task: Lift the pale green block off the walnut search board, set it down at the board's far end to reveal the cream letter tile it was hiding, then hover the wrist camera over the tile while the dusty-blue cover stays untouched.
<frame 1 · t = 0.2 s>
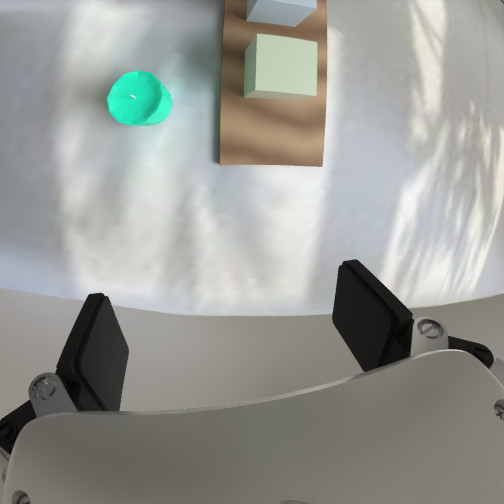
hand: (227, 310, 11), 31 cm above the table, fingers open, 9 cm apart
blue cover: (271, 4, 27), point 1 cm above the table, touching search board
pale green block: (269, 75, 32), point 1 cm above the table, touching search board
search board: (275, 64, 32), on the table
candle: (151, 104, 32), on the table
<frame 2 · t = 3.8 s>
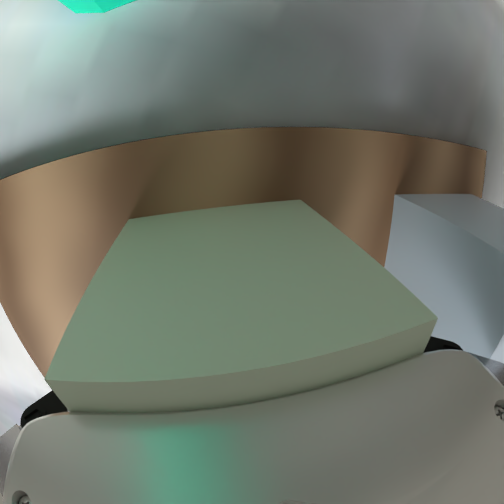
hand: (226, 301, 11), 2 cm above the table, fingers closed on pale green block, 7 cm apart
blue cover: (429, 250, 14), point 1 cm above the table, touching search board
pale green block: (223, 283, 12), point 1 cm above the table, touching gripper, search board
search board: (262, 284, 14), on the table
when the fingers open (4 cm above the table, at t = 10.5 s): pale green block drops 1 cm, resting on search board.
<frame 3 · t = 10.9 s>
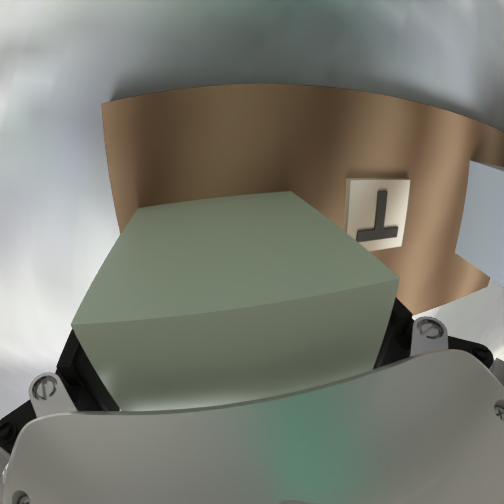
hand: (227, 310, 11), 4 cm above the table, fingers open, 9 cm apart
blue cover: (485, 207, 16), point 1 cm above the table, touching search board
pale green block: (221, 267, 14), point 1 cm above the table, touching search board
search board: (390, 222, 16), on the table
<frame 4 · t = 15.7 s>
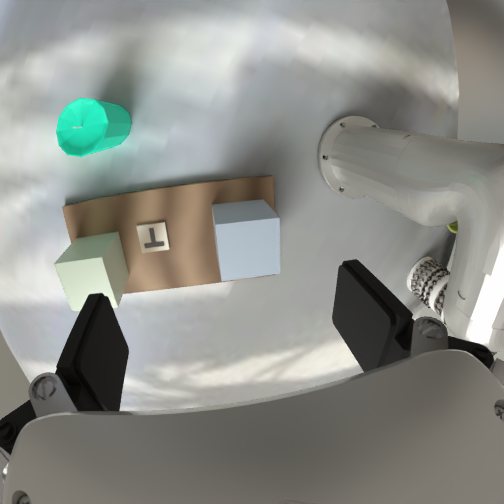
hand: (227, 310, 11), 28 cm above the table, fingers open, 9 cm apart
decorative candle: (420, 274, 52), on the table
blue cover: (239, 226, 38), point 1 cm above the table, touching search board
pale green block: (102, 257, 36), point 1 cm above the table, touching search board
search board: (169, 239, 38), on the table
candle: (110, 126, 30), on the table
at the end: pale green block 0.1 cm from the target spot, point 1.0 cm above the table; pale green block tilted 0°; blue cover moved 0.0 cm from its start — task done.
